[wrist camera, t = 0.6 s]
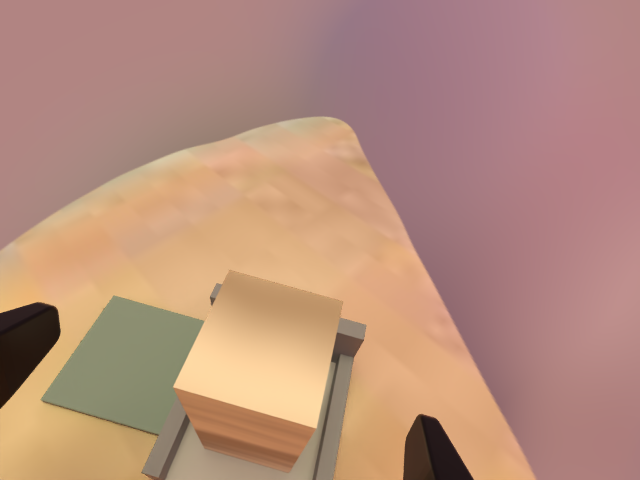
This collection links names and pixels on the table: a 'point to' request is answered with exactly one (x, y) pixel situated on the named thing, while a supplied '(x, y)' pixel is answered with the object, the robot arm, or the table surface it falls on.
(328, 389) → the tray
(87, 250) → the table surface
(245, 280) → the birch block
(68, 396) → the mat
